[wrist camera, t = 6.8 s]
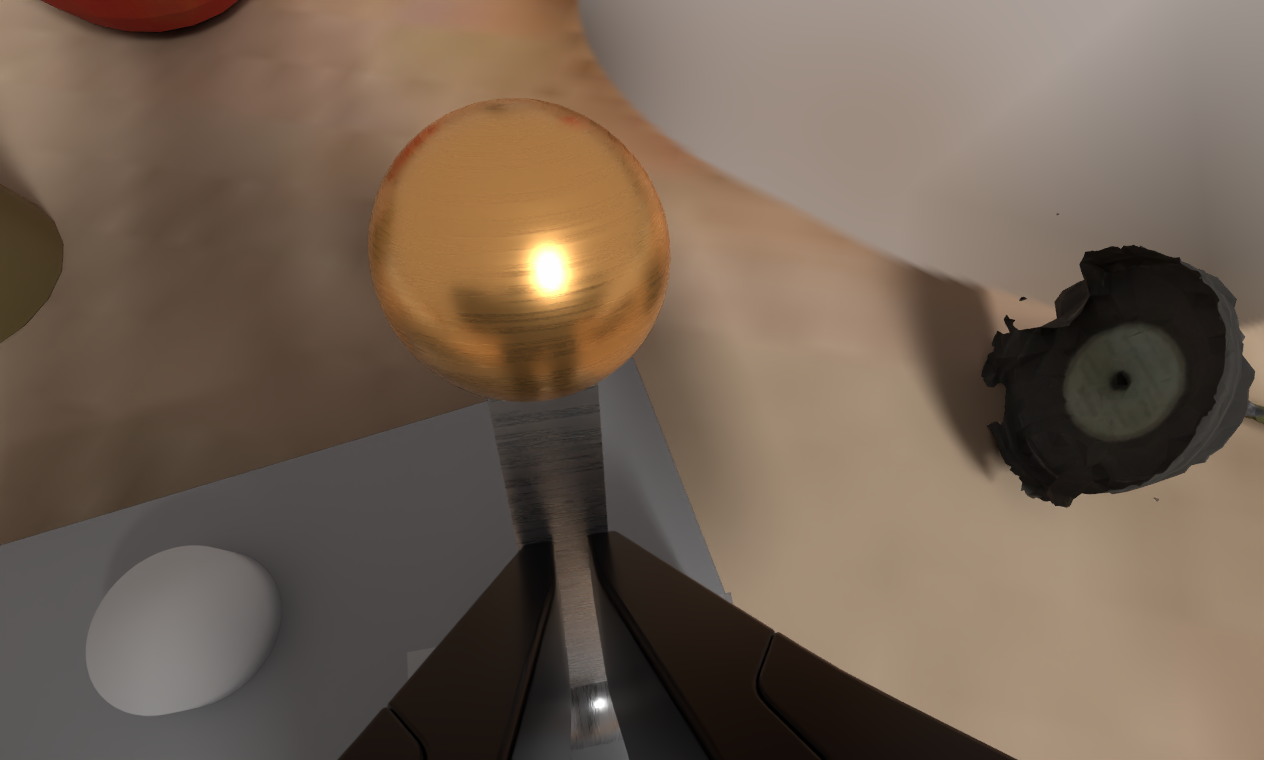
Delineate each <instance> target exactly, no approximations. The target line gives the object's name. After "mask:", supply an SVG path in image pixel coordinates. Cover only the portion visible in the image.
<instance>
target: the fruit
mask: <svg viewBox="0 0 1264 760" xmlns="http://www.w3.org/2000/svg"><path fill="white" fill-rule="evenodd" d="M42 1H44V2H46V3H48V4H50V5H52V6H54V7H56V8H58V9H61V10H63V11H65V12H68V13H70V14H73V15H75V16H77V17H80V18H82V19H84V20H87V21H89V22H91V23H94V24H97V25H101V26H106V27H110V28H115V29H119V30H124V31H147V32H162V31H167V30H172V29H177V28H182V27H187V26H193V25H196V24H198V23H200V22H202V21H205V20H207V19H209V18H211V17H214V16H216V15H218V14H220V13H222V12H224V11H225V10H226V9H228V8H229V7H230V6H232V5H233V4H234V3H235V2H237V1H238V0H42Z"/></svg>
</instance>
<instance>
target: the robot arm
mask: <svg viewBox="0 0 1264 760" xmlns="http://www.w3.org/2000/svg"><path fill="white" fill-rule="evenodd" d="M587 544H588V553H589V563H590V572H591V581H592V590H593V597H594V604H595V610H596V616H597V622H598V629H599V635H600V641H601V648H602V654H603V660H604V666H605V673H606V678H607V683H608V688H609V693H610V696H611V700H612V704H613V708H614V711H615V714H616V717H617V721H618V724H619V727H620V730H621V734H622V737H623V740H624V744H625V747H626V750H627V753H628V757H629V760H1017V759H1015V758H1013V757H1011V756H1009V755H1007V754H1005V753H1003V752H1001V751H999V750H997V749H995V748H993V747H991V746H989V745H987V744H985V743H983V742H981V741H979V740H977V739H975V738H973V737H971V736H969V735H967V734H965V733H963V732H961V731H959V730H957V729H955V728H953V727H951V726H949V725H947V724H945V723H943V722H942V721H940V720H938V719H936V718H934V717H932V716H930V715H928V714H926V713H924V712H922V711H920V710H918V709H916V708H914V707H912V706H910V705H908V704H906V703H904V702H902V701H900V700H898V699H896V698H894V697H892V696H890V695H888V694H886V693H884V692H882V691H881V690H879V689H877V688H875V687H873V686H871V685H869V684H867V683H865V682H864V681H862V680H860V679H858V678H856V677H854V676H852V675H850V674H848V673H846V672H845V671H843V670H841V669H839V668H838V667H836V666H834V665H833V664H831V663H829V662H828V661H826V660H824V659H822V658H821V657H819V656H817V655H816V654H814V653H812V652H811V651H809V650H807V649H805V648H804V647H802V646H801V645H799V644H797V643H796V642H794V641H793V640H791V639H789V638H788V637H786V636H785V635H783V634H781V633H779V632H777V633H775V631H774V630H773V629H771V628H770V627H768V626H767V625H765V624H763V623H762V622H760V621H759V620H757V619H756V618H754V617H752V616H751V615H749V614H748V613H746V612H744V611H743V610H741V609H740V608H738V607H736V606H735V605H733V604H732V603H730V602H729V601H727V600H725V599H724V598H722V597H721V596H719V595H717V594H716V593H714V592H713V591H711V590H709V589H708V588H706V587H705V586H703V585H701V584H700V583H698V582H697V581H695V580H694V579H692V578H690V577H689V576H687V575H686V574H684V573H682V572H681V571H679V570H678V569H676V568H674V567H673V566H671V565H670V564H668V563H667V562H665V561H663V560H662V559H660V558H659V557H657V556H655V555H654V554H652V553H651V552H649V551H647V550H646V549H644V548H643V547H641V546H640V545H638V544H636V543H635V542H633V541H632V540H630V539H628V538H627V537H625V536H624V535H622V534H620V533H619V532H617V531H606V532H600V533H594V534H590V535H589V536H588V538H587ZM570 746H571V685H570V675H569V665H568V656H567V646H566V637H565V628H564V618H563V609H562V600H561V592H560V584H559V577H558V569H557V562H556V555H555V547H554V544H553V543H552V542H551V541H544V542H538V543H532V544H526V545H524V546H523V547H522V548H521V549H520V550H519V551H518V552H517V554H516V555H515V556H514V557H513V558H512V559H511V561H510V562H509V563H508V564H507V565H506V566H505V568H504V569H503V570H502V571H501V572H500V573H499V575H498V576H497V577H496V578H495V579H494V580H493V582H492V583H491V584H490V585H489V586H488V587H487V588H486V590H485V591H484V592H483V593H482V594H481V595H480V597H479V598H478V599H477V600H476V601H475V602H474V604H473V605H472V606H471V607H470V608H469V609H468V611H467V612H466V613H465V614H464V615H463V616H462V618H461V619H460V620H459V621H458V622H457V623H456V625H455V626H454V627H453V628H452V629H451V630H450V632H449V633H448V634H447V635H446V636H445V637H444V639H443V640H442V641H441V642H440V643H439V644H438V646H437V647H436V648H435V649H434V650H433V651H432V653H431V654H430V655H429V656H428V657H427V658H426V660H425V661H424V662H423V663H422V664H421V665H420V667H419V668H418V669H417V670H416V671H415V672H414V674H413V675H412V676H411V677H410V678H409V679H408V680H407V682H406V683H405V684H404V685H403V686H402V687H401V689H400V690H399V691H398V692H397V693H396V694H395V696H394V697H393V698H392V699H391V700H390V701H389V703H388V705H387V707H384V708H382V709H381V710H380V711H379V713H378V714H377V715H376V716H375V717H374V718H373V719H372V721H371V722H370V723H369V724H368V725H367V726H366V728H365V729H364V730H363V731H362V732H361V733H360V734H359V736H358V737H357V738H356V739H355V740H354V741H353V742H352V743H351V744H350V746H349V747H348V748H347V749H346V750H345V751H344V752H343V753H342V754H341V755H340V757H339V758H338V759H337V760H570Z"/></svg>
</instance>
